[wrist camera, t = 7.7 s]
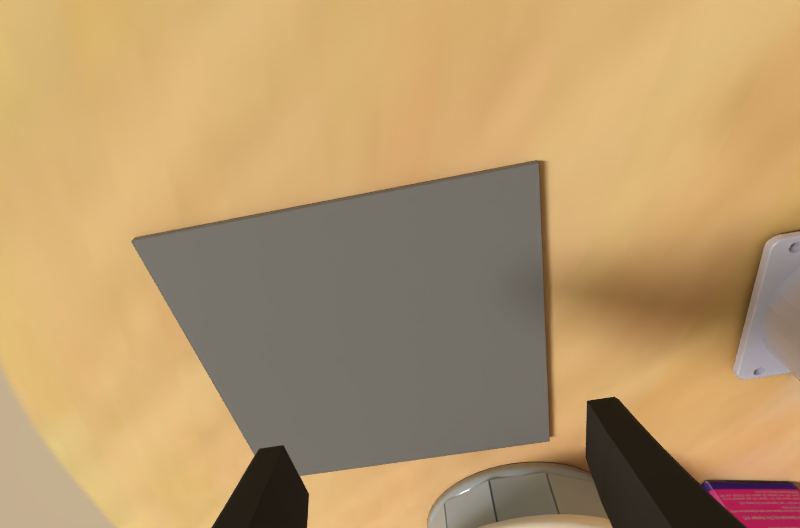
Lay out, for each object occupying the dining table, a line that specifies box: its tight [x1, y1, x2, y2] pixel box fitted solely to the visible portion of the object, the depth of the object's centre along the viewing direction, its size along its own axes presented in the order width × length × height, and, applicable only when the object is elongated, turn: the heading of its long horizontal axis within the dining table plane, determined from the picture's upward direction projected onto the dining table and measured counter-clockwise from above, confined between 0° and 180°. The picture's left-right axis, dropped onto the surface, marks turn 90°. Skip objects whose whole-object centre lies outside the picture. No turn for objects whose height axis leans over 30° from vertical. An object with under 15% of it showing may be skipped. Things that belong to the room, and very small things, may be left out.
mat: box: [131, 161, 550, 476], centre depth 22 cm, size 16×16×1 cm
